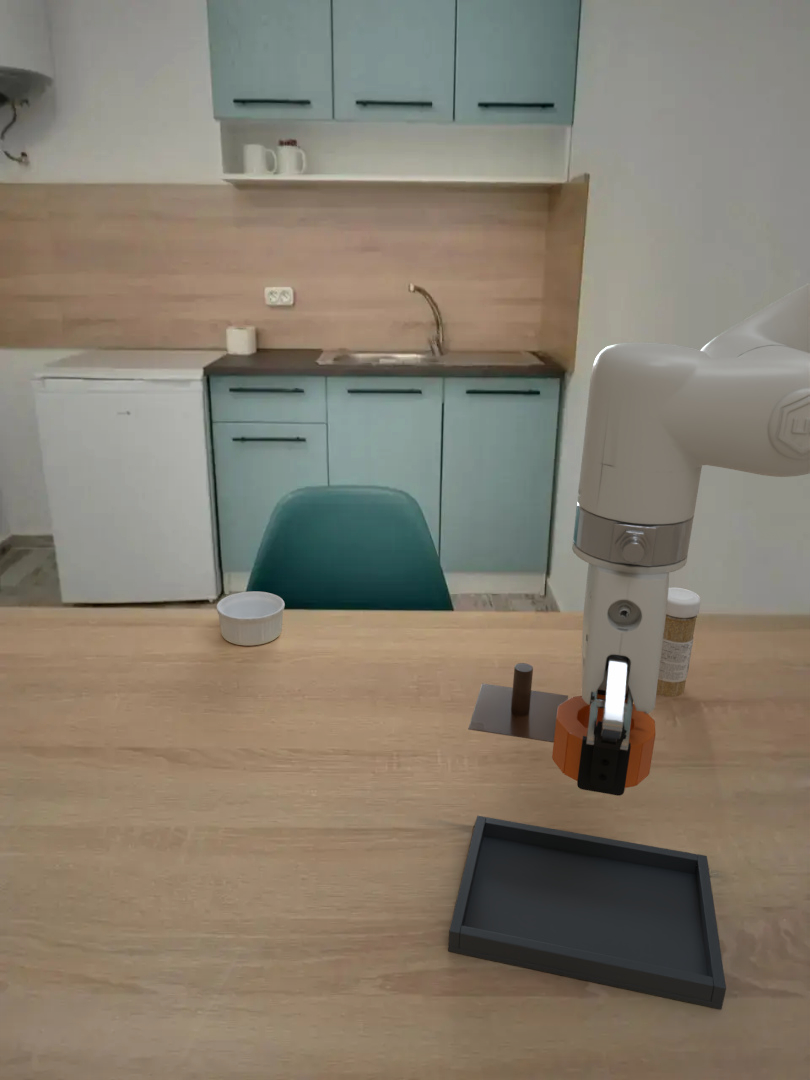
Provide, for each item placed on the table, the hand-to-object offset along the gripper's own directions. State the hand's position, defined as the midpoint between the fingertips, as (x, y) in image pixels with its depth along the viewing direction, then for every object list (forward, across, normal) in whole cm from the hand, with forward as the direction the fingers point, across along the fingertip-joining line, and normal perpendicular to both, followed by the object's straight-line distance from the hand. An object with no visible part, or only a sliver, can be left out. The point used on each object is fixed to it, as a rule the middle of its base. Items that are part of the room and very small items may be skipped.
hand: (601, 756), depth 62 cm
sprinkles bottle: (+15, +36, -8) cm, 40 cm away
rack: (+15, +26, +8) cm, 31 cm away
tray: (+15, 0, 0) cm, 15 cm away
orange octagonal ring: (0, 0, 0) cm, 0 cm away
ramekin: (+15, +38, +45) cm, 61 cm away
